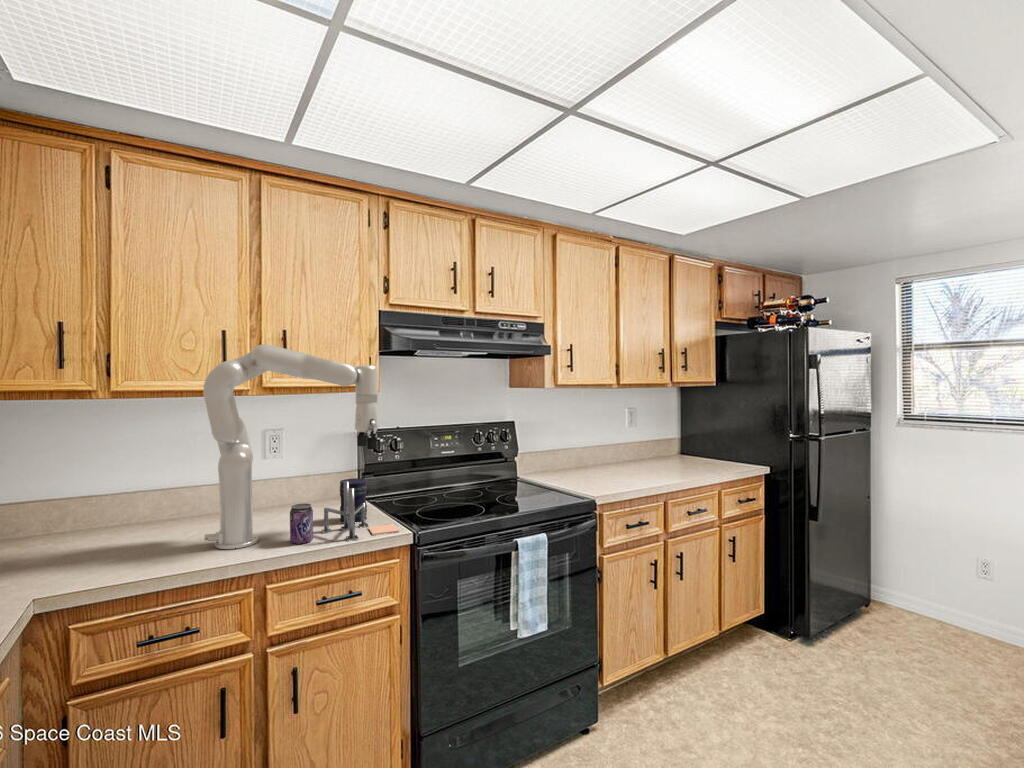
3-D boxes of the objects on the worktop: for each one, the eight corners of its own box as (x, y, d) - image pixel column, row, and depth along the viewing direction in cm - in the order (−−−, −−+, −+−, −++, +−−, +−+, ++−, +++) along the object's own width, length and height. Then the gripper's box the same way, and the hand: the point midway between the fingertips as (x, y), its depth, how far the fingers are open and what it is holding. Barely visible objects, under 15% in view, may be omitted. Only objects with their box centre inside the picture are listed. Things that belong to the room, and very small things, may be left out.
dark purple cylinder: (351, 524, 196) (351, 484, 196) (334, 521, 201) (334, 481, 201) (372, 518, 204) (372, 480, 204) (355, 515, 210) (355, 477, 209)
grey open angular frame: (325, 544, 174) (325, 492, 173) (321, 530, 189) (320, 482, 189) (375, 537, 180) (375, 487, 180) (367, 524, 196) (366, 478, 196)
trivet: (372, 535, 183) (372, 533, 183) (368, 528, 191) (368, 527, 191) (398, 532, 186) (398, 530, 186) (393, 525, 194) (393, 523, 194)
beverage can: (290, 546, 172) (289, 509, 171) (290, 540, 178) (289, 504, 178) (313, 543, 174) (313, 506, 174) (312, 537, 181) (312, 502, 181)
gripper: (348, 399, 195) (348, 445, 196) (365, 401, 181) (365, 451, 182) (367, 398, 200) (368, 444, 200) (385, 400, 186) (386, 449, 186)
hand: (366, 447), depth 191 cm, fingers open, 9 cm apart
